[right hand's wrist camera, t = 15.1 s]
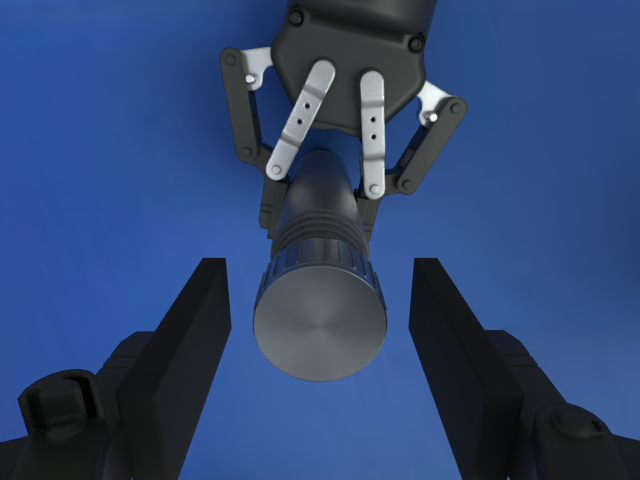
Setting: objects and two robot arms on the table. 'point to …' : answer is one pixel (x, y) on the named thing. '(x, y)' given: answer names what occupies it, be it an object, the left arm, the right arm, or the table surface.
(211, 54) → the table surface
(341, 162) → the dark grey long cylinder
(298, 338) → the cap
